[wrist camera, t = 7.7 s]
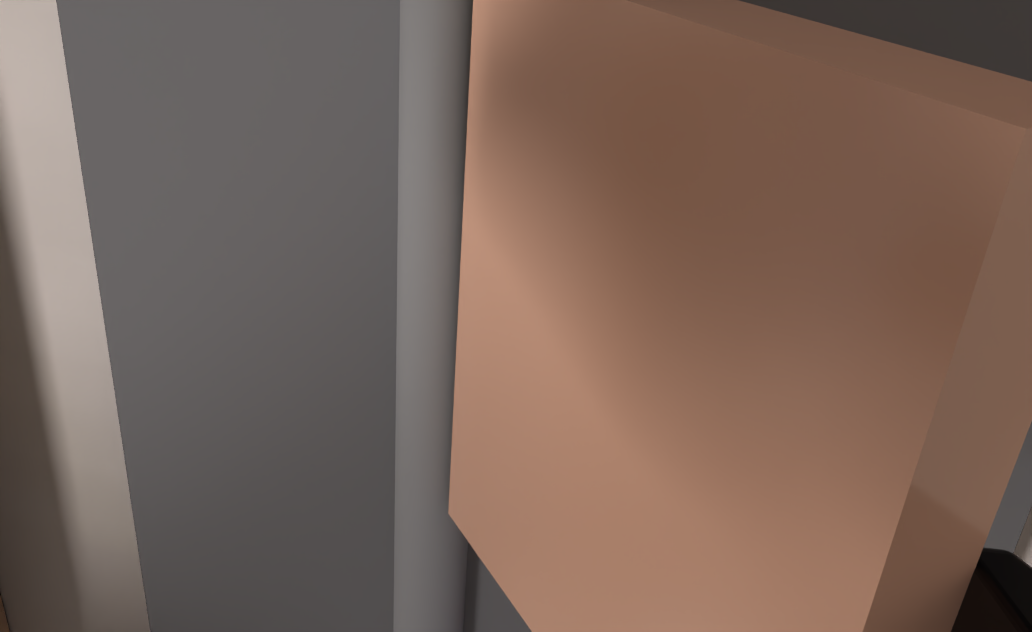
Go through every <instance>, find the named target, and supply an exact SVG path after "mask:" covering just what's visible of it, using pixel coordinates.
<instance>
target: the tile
mask: <svg viewBox="0 0 1032 632" xmlns="http://www.w3.org/2000/svg"><path fill="white" fill-rule="evenodd" d="M1031 422H1032V82H1031V81H1027V80H1024V79H1020V78H1017V77H1013V76H1009V75H1006V74H1002V73H999V72H995V71H991V70H988V69H984V68H981V67H977V66H973V65H970V64H966V63H963V62H959V61H955V60H952V59H948V58H945V57H941V56H937V55H934V54H930V53H927V52H923V51H919V50H916V49H912V48H909V47H905V46H901V45H898V44H894V43H891V42H887V41H883V40H880V39H876V38H873V37H869V36H865V35H862V34H858V33H855V32H851V31H847V30H844V29H840V28H837V27H833V26H829V25H826V24H822V23H819V22H815V21H811V20H808V19H804V18H800V17H797V16H793V15H790V14H786V13H782V12H779V11H775V10H772V9H768V8H764V7H761V6H757V5H754V4H750V3H746V2H743V1H739V0H473V15H472V36H471V56H470V77H469V97H468V118H467V139H466V159H465V180H464V200H463V221H462V242H461V262H460V283H459V303H458V324H457V345H456V365H455V386H454V407H453V427H452V448H451V468H450V489H449V510H448V514H449V515H450V517H451V518H452V519H453V521H454V522H455V524H456V525H457V527H458V528H459V529H460V531H461V532H462V534H463V535H464V536H465V538H466V539H467V541H468V542H469V543H470V545H471V546H472V548H473V549H474V551H475V552H476V553H477V555H478V556H479V558H480V559H481V560H482V562H483V563H484V565H485V566H486V568H487V569H488V570H489V572H490V573H491V575H492V576H493V577H494V579H495V580H496V582H497V583H498V584H499V586H500V587H501V589H502V590H503V592H504V593H505V594H506V596H507V597H508V599H509V600H510V601H511V603H512V604H513V606H514V607H515V608H516V610H517V611H518V613H519V614H520V616H521V617H522V618H523V620H524V621H525V623H526V624H527V625H528V627H529V628H530V630H531V631H532V632H951V630H952V627H953V625H954V622H955V619H956V617H957V614H958V611H959V609H960V606H961V604H962V601H963V598H964V596H965V593H966V590H967V588H968V585H969V583H970V580H971V577H972V575H973V572H974V570H975V568H976V565H977V563H978V560H979V557H980V555H981V552H982V550H983V547H984V544H985V542H986V539H987V537H988V534H989V531H990V529H991V526H992V524H993V521H994V518H995V516H996V513H997V510H998V508H999V505H1000V503H1001V500H1002V497H1003V495H1004V492H1005V490H1006V487H1007V484H1008V482H1009V479H1010V477H1011V474H1012V471H1013V469H1014V466H1015V464H1016V461H1017V458H1018V456H1019V453H1020V451H1021V448H1022V445H1023V443H1024V440H1025V437H1026V435H1027V432H1028V430H1029V427H1030V424H1031Z"/></svg>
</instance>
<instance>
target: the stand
mask: <svg viewBox="0 0 1032 632" xmlns="http://www.w3.org/2000/svg"><path fill="white" fill-rule="evenodd" d="M0 632H9V628H8V624H7V619H6V615H5V611H4V607H3V603H2V599H1V595H0Z"/></svg>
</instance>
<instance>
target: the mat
mask: <svg viewBox="0 0 1032 632" xmlns="http://www.w3.org/2000/svg"><path fill="white" fill-rule="evenodd" d="M739 1H743V2H746V3H750V4H754V5H757V6H761V7H764V8H768V9H772V10H775V11H779V12H782V13H786V14H790V15H793V16H797V17H800V18H804V19H808V20H811V21H815V22H819V23H822V24H826V25H829V26H833V27H837V28H840V29H844V30H847V31H851V32H855V33H858V34H862V35H865V36H869V37H873V38H876V39H880V40H883V41H887V42H891V43H894V44H898V45H901V46H905V47H909V48H912V49H916V50H919V51H923V52H927V53H930V54H934V55H937V56H941V57H945V58H948V59H952V60H955V61H959V62H963V63H966V64H970V65H973V66H977V67H981V68H984V69H988V70H991V71H995V72H999V73H1002V74H1006V75H1009V76H1013V77H1017V78H1020V79H1024V80H1027V81H1031V82H1032V0H739ZM56 2H57V8H58V15H59V22H60V28H61V35H62V42H63V48H64V55H65V62H66V69H67V75H68V82H69V89H70V95H71V102H72V109H73V115H74V122H75V129H76V136H77V142H78V149H79V156H80V162H81V169H82V176H83V182H84V189H85V196H86V203H87V209H88V216H89V223H90V229H91V236H92V243H93V249H94V256H95V263H96V269H97V276H98V283H99V290H100V296H101V303H102V310H103V316H104V323H105V330H106V336H107V343H108V350H109V357H110V363H111V370H112V377H113V383H114V390H115V397H116V403H117V410H118V417H119V424H120V430H121V437H122V444H123V450H124V457H125V464H126V470H127V477H128V484H129V491H130V497H131V504H132V511H133V517H134V524H135V531H136V537H137V544H138V551H139V557H140V564H141V571H142V578H143V584H144V591H145V598H146V604H147V611H148V618H149V624H150V631H151V632H532V631H531V630H530V628H529V627H528V625H527V624H526V623H525V621H524V620H523V618H522V617H521V616H520V614H519V613H518V611H517V610H516V608H515V607H514V606H513V604H512V603H511V601H510V600H509V599H508V597H507V596H506V594H505V593H504V592H503V590H502V589H501V587H500V586H499V584H498V583H497V582H496V580H495V579H494V577H493V576H492V575H491V573H490V572H489V570H488V569H487V568H486V566H485V565H484V563H483V562H482V560H481V559H480V558H479V556H478V555H477V553H476V552H475V551H474V549H473V548H472V546H471V545H470V543H469V542H468V541H467V539H466V538H465V536H464V535H463V534H462V532H461V531H460V529H459V528H458V527H457V525H456V524H455V522H454V521H453V519H452V518H451V517H450V515H449V514H448V510H449V489H450V468H451V448H452V427H453V407H454V386H455V365H456V345H457V324H458V303H459V283H460V262H461V242H462V221H463V200H464V180H465V159H466V139H467V118H468V97H469V77H470V56H471V36H472V15H473V0H56ZM1031 507H1032V422H1031V424H1030V427H1029V430H1028V432H1027V435H1026V437H1025V440H1024V443H1023V445H1022V448H1021V451H1020V453H1019V456H1018V458H1017V461H1016V464H1015V466H1014V469H1013V471H1012V474H1011V477H1010V479H1009V482H1008V484H1007V487H1006V490H1005V492H1004V495H1003V497H1002V500H1001V503H1000V505H999V508H998V510H997V513H996V516H995V518H994V521H993V524H992V526H991V529H990V531H989V534H988V537H987V539H986V542H985V544H984V547H985V548H994V549H1002V550H1006V551H1009V552H1011V553H1013V552H1014V550H1015V547H1016V545H1017V542H1018V540H1019V537H1020V535H1021V532H1022V530H1023V527H1024V525H1025V522H1026V520H1027V517H1028V515H1029V512H1030V510H1031Z"/></svg>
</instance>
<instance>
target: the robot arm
mask: <svg viewBox="0 0 1032 632" xmlns="http://www.w3.org/2000/svg"><path fill="white" fill-rule="evenodd" d="M951 632H1032V567H1030V566H1029V565H1028V564H1026V563H1025V562H1024V561H1023V560H1021V559H1020V558H1019V557H1017V556H1016V555H1014V554H1013V553H1011V552H1009V551H1006V550H1002V549H994V548H985V547H983V550H982V552H981V555H980V557H979V560H978V563H977V565H976V568H975V570H974V572H973V575H972V577H971V580H970V583H969V585H968V588H967V590H966V593H965V596H964V598H963V601H962V604H961V606H960V609H959V611H958V614H957V617H956V619H955V622H954V625H953V627H952V630H951Z"/></svg>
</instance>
